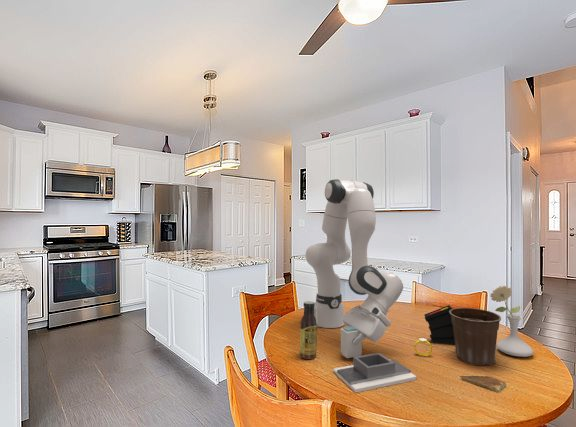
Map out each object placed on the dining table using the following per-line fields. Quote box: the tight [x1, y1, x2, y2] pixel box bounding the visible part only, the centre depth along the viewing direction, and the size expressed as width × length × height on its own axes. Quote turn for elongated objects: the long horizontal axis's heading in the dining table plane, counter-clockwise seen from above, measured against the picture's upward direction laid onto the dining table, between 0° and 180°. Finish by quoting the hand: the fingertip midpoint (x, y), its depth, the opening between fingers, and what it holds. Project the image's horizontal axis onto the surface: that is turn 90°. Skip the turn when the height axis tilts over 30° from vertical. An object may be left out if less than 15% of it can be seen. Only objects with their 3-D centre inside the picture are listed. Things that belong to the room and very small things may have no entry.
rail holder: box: [332, 352, 418, 394], centre depth 106 cm, size 14×22×5 cm, turn 109°
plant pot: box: [449, 307, 502, 367], centre depth 118 cm, size 16×16×16 cm
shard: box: [459, 375, 507, 393], centre depth 101 cm, size 11×8×2 cm
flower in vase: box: [490, 285, 534, 358], centre depth 123 cm, size 13×11×25 cm
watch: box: [414, 337, 433, 357], centre depth 121 cm, size 6×3×6 cm, turn 73°
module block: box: [340, 326, 363, 359], centre depth 120 cm, size 4×6×10 cm
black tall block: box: [424, 304, 455, 346], centre depth 133 cm, size 4×13×15 cm, turn 74°
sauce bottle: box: [299, 300, 318, 360], centre depth 121 cm, size 6×6×20 cm
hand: (349, 341), depth 119 cm, fingers closed on module block, 4 cm apart
